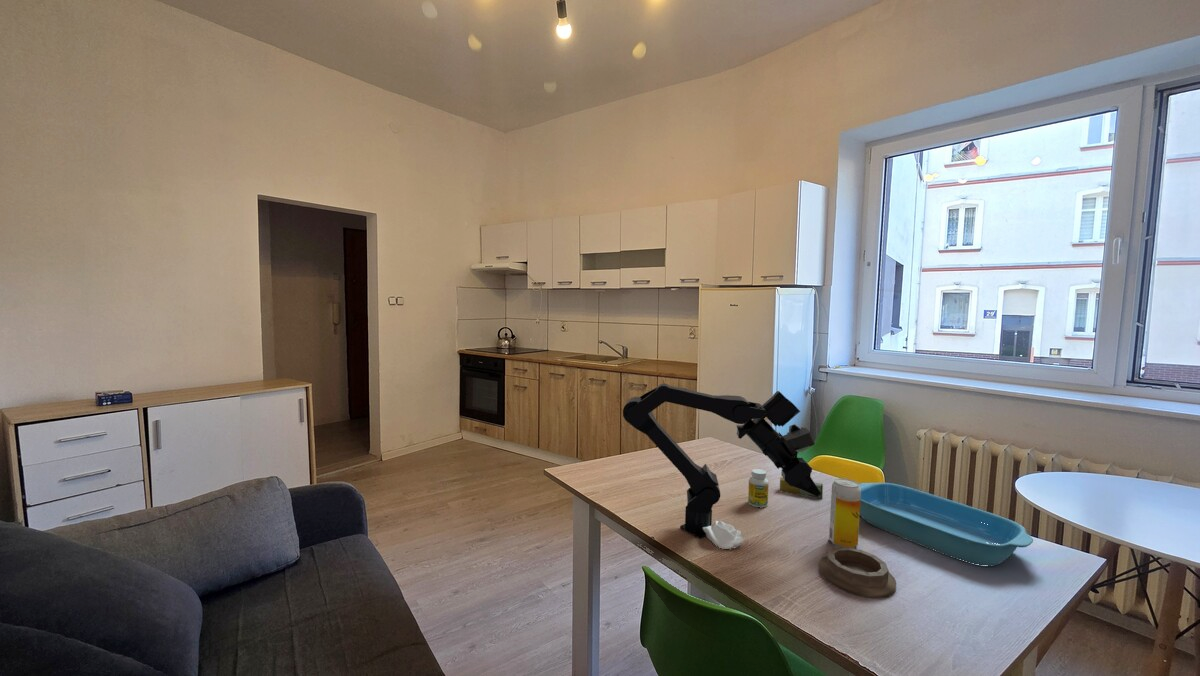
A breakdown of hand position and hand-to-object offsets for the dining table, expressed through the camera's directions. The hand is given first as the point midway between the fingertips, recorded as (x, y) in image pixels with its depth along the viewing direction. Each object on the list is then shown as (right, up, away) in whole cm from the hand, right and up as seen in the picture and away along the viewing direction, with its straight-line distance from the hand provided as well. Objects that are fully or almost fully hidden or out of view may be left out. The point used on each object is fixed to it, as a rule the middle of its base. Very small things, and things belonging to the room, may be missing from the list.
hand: (813, 487), depth 110 cm
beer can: (+7, -14, 0) cm, 15 cm away
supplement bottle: (-6, -12, +21) cm, 25 cm away
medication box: (+10, -12, +30) cm, 33 cm away
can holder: (+2, -14, -14) cm, 20 cm away
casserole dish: (+32, -14, +5) cm, 35 cm away
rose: (-22, -13, 0) cm, 25 cm away
